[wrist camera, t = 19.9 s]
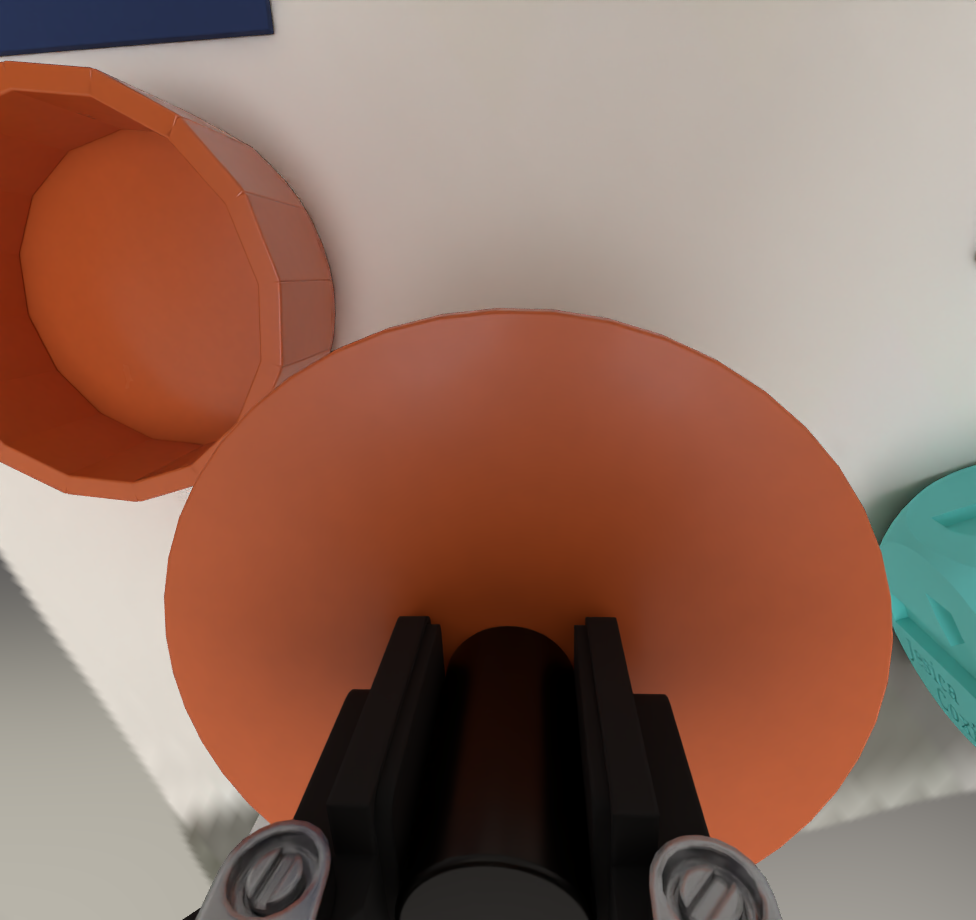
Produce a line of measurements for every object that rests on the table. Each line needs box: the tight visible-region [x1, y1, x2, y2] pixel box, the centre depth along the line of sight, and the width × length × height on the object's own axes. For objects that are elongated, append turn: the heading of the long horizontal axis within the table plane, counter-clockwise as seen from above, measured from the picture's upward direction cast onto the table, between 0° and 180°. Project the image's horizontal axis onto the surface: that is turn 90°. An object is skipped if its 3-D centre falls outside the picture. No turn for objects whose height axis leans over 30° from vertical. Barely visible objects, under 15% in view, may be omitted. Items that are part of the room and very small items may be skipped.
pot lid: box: [164, 308, 893, 920], centre depth 9 cm, size 13×13×6 cm
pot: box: [0, 61, 335, 502], centre depth 20 cm, size 12×12×5 cm
